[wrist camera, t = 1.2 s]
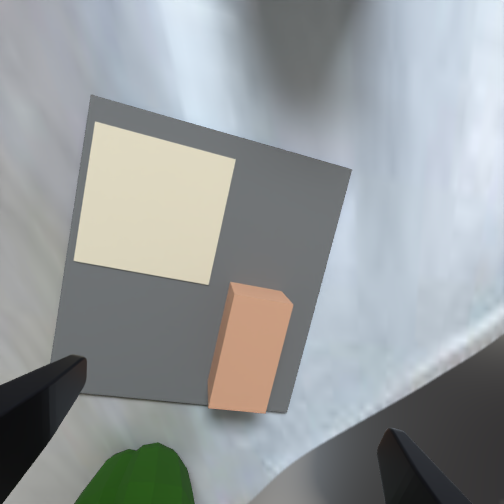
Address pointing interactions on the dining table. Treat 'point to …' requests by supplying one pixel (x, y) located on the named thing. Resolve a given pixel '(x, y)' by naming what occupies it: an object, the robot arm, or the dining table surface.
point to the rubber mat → (186, 250)
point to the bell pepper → (140, 479)
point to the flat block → (248, 348)
